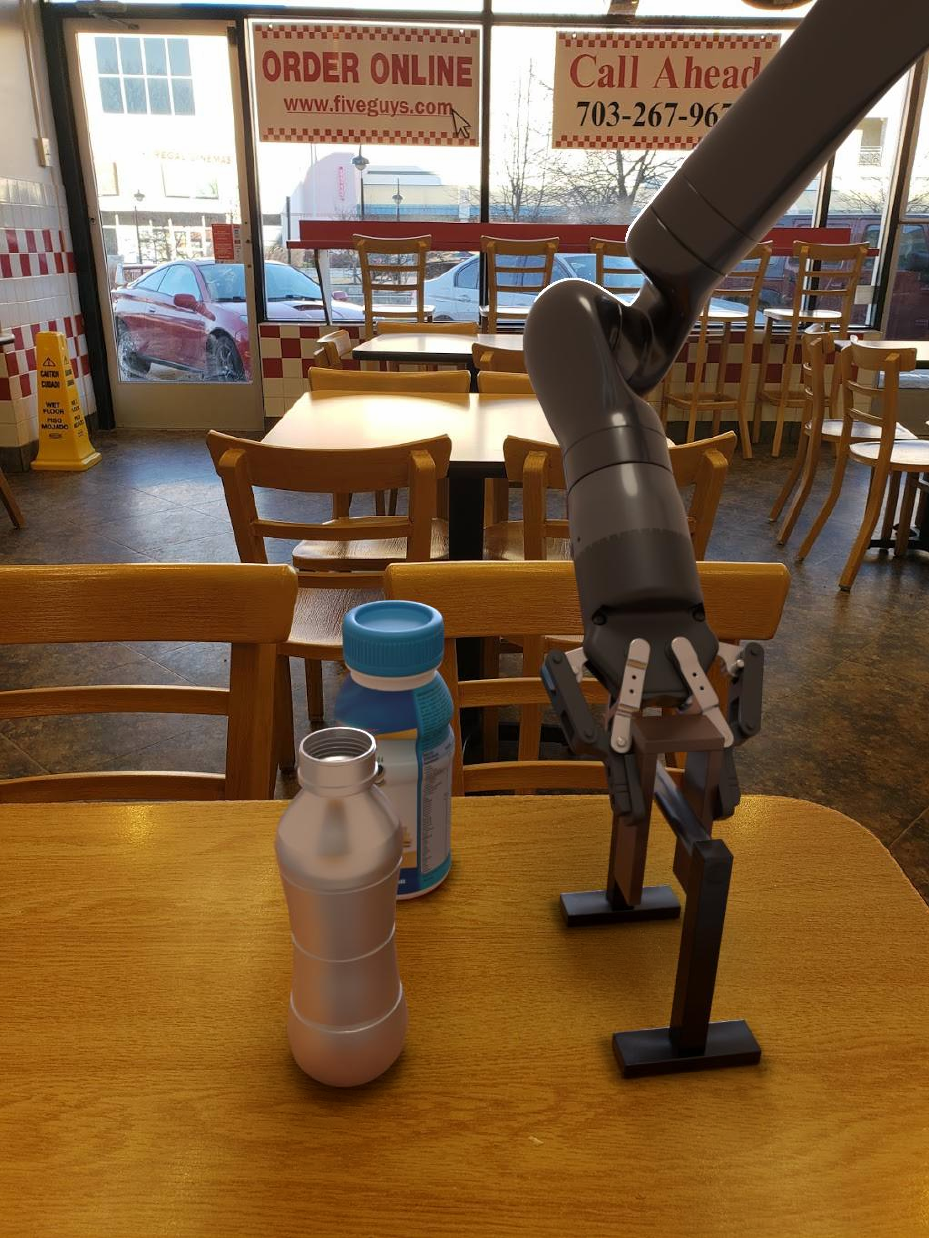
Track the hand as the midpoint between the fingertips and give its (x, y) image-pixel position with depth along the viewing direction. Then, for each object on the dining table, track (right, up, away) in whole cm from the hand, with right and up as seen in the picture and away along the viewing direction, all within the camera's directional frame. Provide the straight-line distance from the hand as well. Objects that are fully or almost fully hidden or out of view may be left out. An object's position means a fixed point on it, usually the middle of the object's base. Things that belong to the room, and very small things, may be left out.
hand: (679, 819), depth 53 cm
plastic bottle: (-19, -14, 0) cm, 23 cm away
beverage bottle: (-17, -7, +16) cm, 25 cm away
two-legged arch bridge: (0, -5, +4) cm, 6 cm away
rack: (0, -11, +6) cm, 13 cm away
